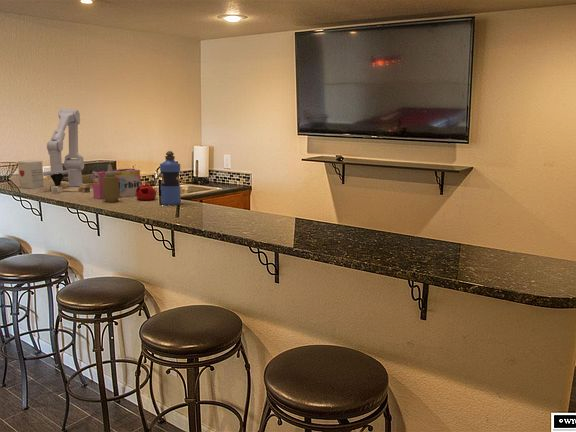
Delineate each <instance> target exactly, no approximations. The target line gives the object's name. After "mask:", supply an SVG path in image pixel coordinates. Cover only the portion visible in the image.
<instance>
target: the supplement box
mask: <svg viewBox="0 0 576 432" xmlns="http://www.w3.org/2000/svg"><path fill="white" fill-rule="evenodd" d="M17 168H18V169H17V170H18V180H19V188H21V189H31V190H33V189H38V188H39V189H40V188H44V187H45V185H44V183H45V182H44V176H43V172H44V170H43V169H44V168H43V161H42V160H33V159H32V160H30V159H29V160H18V161H17Z"/></svg>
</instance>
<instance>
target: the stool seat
mask: <svg viewBox="0 0 576 432" xmlns="http://www.w3.org/2000/svg"><path fill="white" fill-rule="evenodd" d="M68 184H69V183H68ZM68 184H66V183H62V182H61V184H60V186H61V187H62V191H63V192H65V193H70V192H71V193H72V192H73V193H75V192H80V193H85V194H86V193H87V194H88V193H90V192H91V189H93V182H89V183H84V184H82V186H70V187H69V186H68Z"/></svg>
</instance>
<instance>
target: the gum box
mask: <svg viewBox="0 0 576 432" xmlns="http://www.w3.org/2000/svg"><path fill="white" fill-rule="evenodd" d="M107 170H108V169H106V170H92V171H91V175H92V183H93V188H92V189H93V190H92V193H93V194H92V195H93V198H94V199H98V200H104V197H103V195H102V191H103V177H104V176H106V175H105V172H107ZM113 172H115V175H114V176H117V177H118V184H119V190H120V196H119V198H124V197H125V198H126V197H134V196H135V197H137V196H136V189H137V188H138V187H139V186H142V183H141V173H140V172H141V170H140V169H136V168H122V169H120V168H119V169H113Z"/></svg>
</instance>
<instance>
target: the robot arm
mask: <svg viewBox="0 0 576 432" xmlns="http://www.w3.org/2000/svg"><path fill="white" fill-rule="evenodd" d="M58 119H59V121H58V125H57V129H55V130H53V134H52V136H51V138H50V140H49V141H47V143H46V149H47V152H48V155H49V164H50V165H49V166H50V167H49V168H50V171H49V170H48V171H43V177H44V176H45V177H47V176H50V178H51V179H52V181H53V184H54V186H60V184H61V183H62V180H63V178H64V175H67V176H68V178H67V179H68V187H82V184H85V183H83V174H82V171H83V170H84V168H85V161H84V156H82V155H81V154H80V153H79V131H78V129H79V127H78V125H80V124H81V115H80V112H79V110H78V109H77V108H74V109H73V108H72V109H70V108H68V109H67V108H60V109H59V110H58ZM67 128H68V129H67ZM66 129H67V130H68V132H67V133H68V153H67V155H65V156H64V162H63V161H62V160H63V159H62V151H63V149H64V139H65V136H66V132H65V131H66ZM63 167H64V168H65V169H64V170H63Z"/></svg>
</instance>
